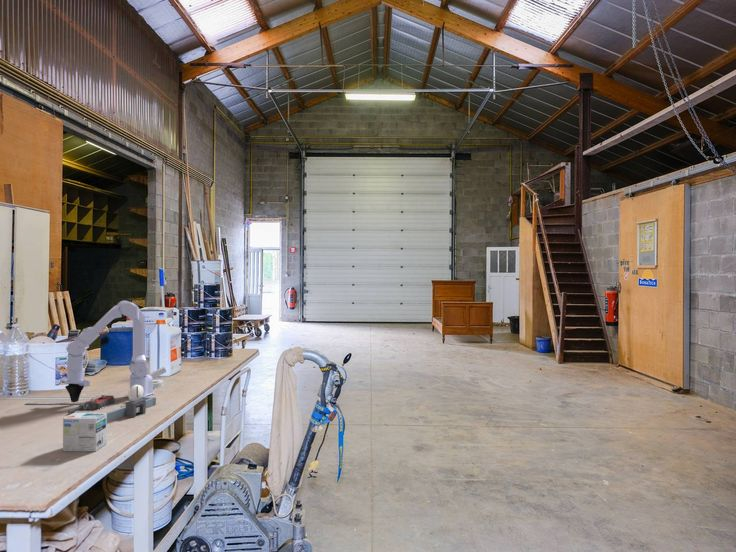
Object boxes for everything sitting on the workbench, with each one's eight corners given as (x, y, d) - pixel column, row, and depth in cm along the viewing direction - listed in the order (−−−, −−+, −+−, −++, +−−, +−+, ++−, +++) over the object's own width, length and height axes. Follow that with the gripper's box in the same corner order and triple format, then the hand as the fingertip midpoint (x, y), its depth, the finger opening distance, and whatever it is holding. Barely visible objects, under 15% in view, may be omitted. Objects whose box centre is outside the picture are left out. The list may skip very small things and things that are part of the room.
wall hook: (168, 367, 226) (146, 370, 220) (168, 387, 226) (146, 390, 220) (164, 364, 233) (142, 367, 227) (163, 383, 233) (142, 386, 227)
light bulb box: (107, 444, 152) (107, 411, 152) (96, 452, 145) (96, 418, 145) (74, 444, 152) (74, 411, 152) (61, 452, 145) (62, 418, 145)
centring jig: (131, 401, 201) (132, 374, 201) (165, 406, 195) (165, 378, 195) (73, 419, 176) (74, 388, 176) (110, 425, 170) (110, 393, 170)
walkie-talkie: (97, 401, 201) (65, 415, 181) (97, 391, 201) (66, 404, 181) (116, 402, 201) (87, 416, 181) (116, 391, 201) (87, 405, 181)
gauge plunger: (124, 409, 186) (124, 404, 186) (139, 411, 184) (139, 406, 184) (120, 410, 184) (120, 405, 184) (135, 413, 182) (135, 408, 182)
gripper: (53, 369, 193) (53, 402, 193) (78, 373, 188) (78, 406, 188) (69, 366, 199) (69, 397, 200) (94, 369, 195) (93, 401, 195)
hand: (74, 401), depth 194 cm, fingers closed
